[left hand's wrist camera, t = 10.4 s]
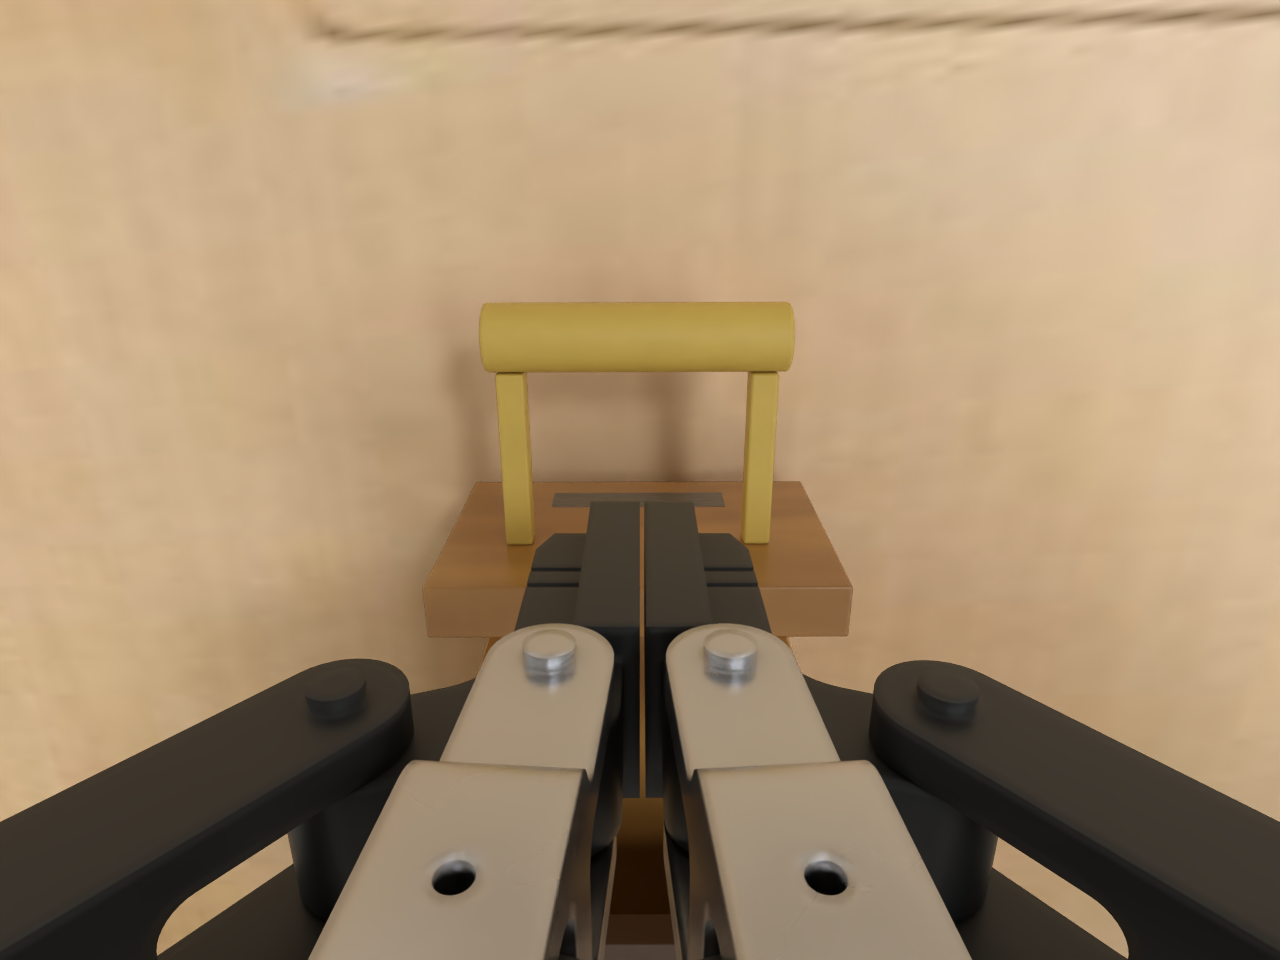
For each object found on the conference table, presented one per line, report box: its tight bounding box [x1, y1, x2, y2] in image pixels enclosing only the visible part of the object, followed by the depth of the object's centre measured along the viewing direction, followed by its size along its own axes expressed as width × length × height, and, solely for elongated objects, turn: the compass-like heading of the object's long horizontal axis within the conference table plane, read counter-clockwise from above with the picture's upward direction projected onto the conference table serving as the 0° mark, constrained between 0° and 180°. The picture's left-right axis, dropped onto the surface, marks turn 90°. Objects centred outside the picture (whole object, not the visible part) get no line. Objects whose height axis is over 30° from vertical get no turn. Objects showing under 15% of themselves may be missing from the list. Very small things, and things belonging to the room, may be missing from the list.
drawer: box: [423, 302, 853, 914], centre depth 22 cm, size 25×9×6 cm, turn 0°
